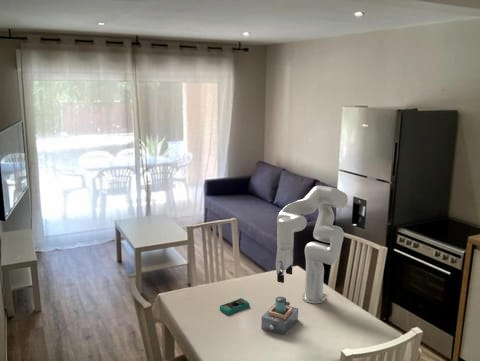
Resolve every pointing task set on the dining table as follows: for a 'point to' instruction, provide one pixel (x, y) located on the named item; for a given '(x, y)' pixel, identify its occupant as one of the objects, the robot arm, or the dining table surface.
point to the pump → (281, 305)
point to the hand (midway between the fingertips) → (284, 277)
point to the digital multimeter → (234, 306)
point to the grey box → (279, 320)
